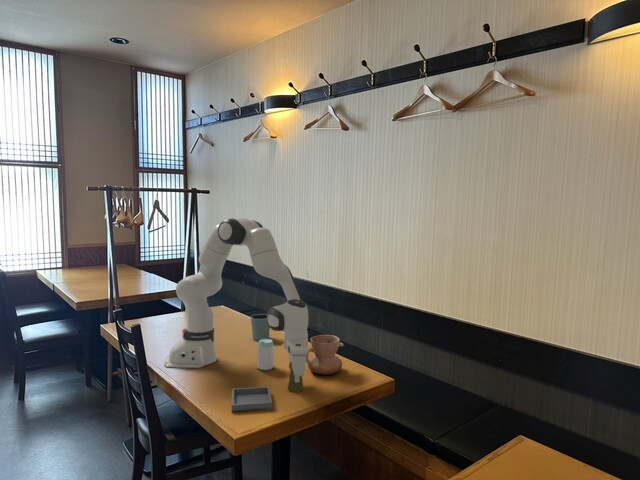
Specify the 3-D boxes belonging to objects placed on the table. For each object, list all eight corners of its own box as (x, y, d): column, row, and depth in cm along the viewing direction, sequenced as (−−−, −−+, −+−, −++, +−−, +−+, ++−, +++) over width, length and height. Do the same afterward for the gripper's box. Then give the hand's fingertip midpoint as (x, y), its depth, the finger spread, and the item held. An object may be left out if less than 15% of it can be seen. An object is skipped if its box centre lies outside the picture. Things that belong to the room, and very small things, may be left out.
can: (271, 371, 187) (271, 343, 186) (254, 370, 188) (255, 342, 187) (275, 365, 194) (275, 338, 193) (260, 364, 195) (260, 337, 194)
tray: (231, 412, 151) (231, 405, 150) (232, 395, 164) (232, 388, 164) (271, 409, 153) (272, 402, 153) (269, 392, 166) (269, 386, 166)
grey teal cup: (274, 337, 233) (274, 315, 232) (263, 343, 225) (263, 319, 224) (258, 334, 238) (258, 312, 237) (246, 339, 229) (246, 317, 228)
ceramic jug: (335, 362, 199) (335, 331, 198) (350, 374, 186) (350, 340, 185) (297, 369, 192) (297, 336, 190) (311, 381, 178) (311, 346, 177)
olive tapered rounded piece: (287, 385, 173) (287, 358, 172) (303, 385, 174) (303, 358, 173) (287, 392, 167) (288, 363, 166) (303, 392, 168) (304, 363, 167)
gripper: (285, 335, 179) (284, 368, 180) (291, 352, 159) (290, 389, 160) (300, 334, 180) (300, 368, 181) (308, 351, 160) (307, 388, 161)
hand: (295, 378), depth 170 cm, fingers closed on olive tapered rounded piece, 5 cm apart
